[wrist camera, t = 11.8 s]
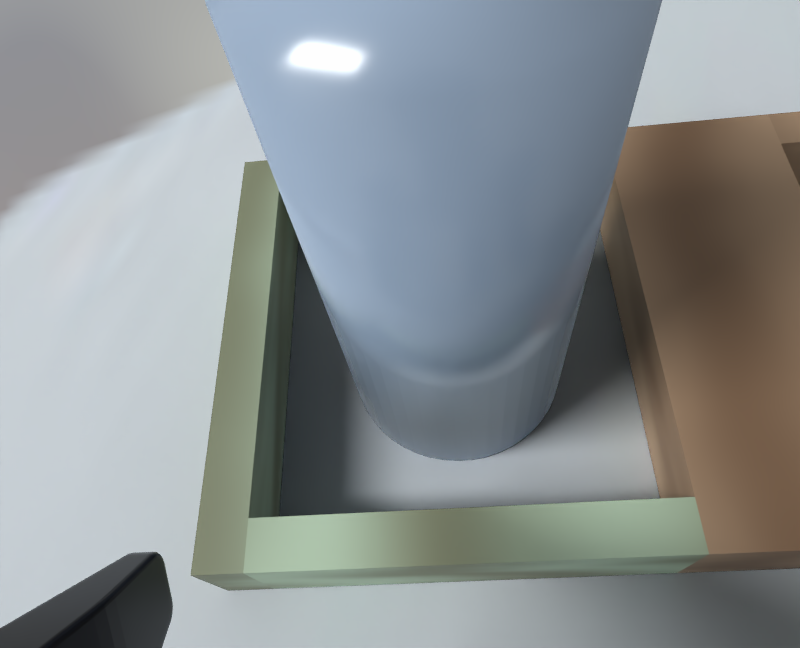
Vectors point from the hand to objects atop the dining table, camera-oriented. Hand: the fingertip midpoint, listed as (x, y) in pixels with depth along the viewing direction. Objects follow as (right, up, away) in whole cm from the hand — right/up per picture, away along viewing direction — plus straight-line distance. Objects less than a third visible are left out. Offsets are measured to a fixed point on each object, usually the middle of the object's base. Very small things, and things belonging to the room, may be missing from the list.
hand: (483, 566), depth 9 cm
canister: (0, +2, +10) cm, 11 cm away
